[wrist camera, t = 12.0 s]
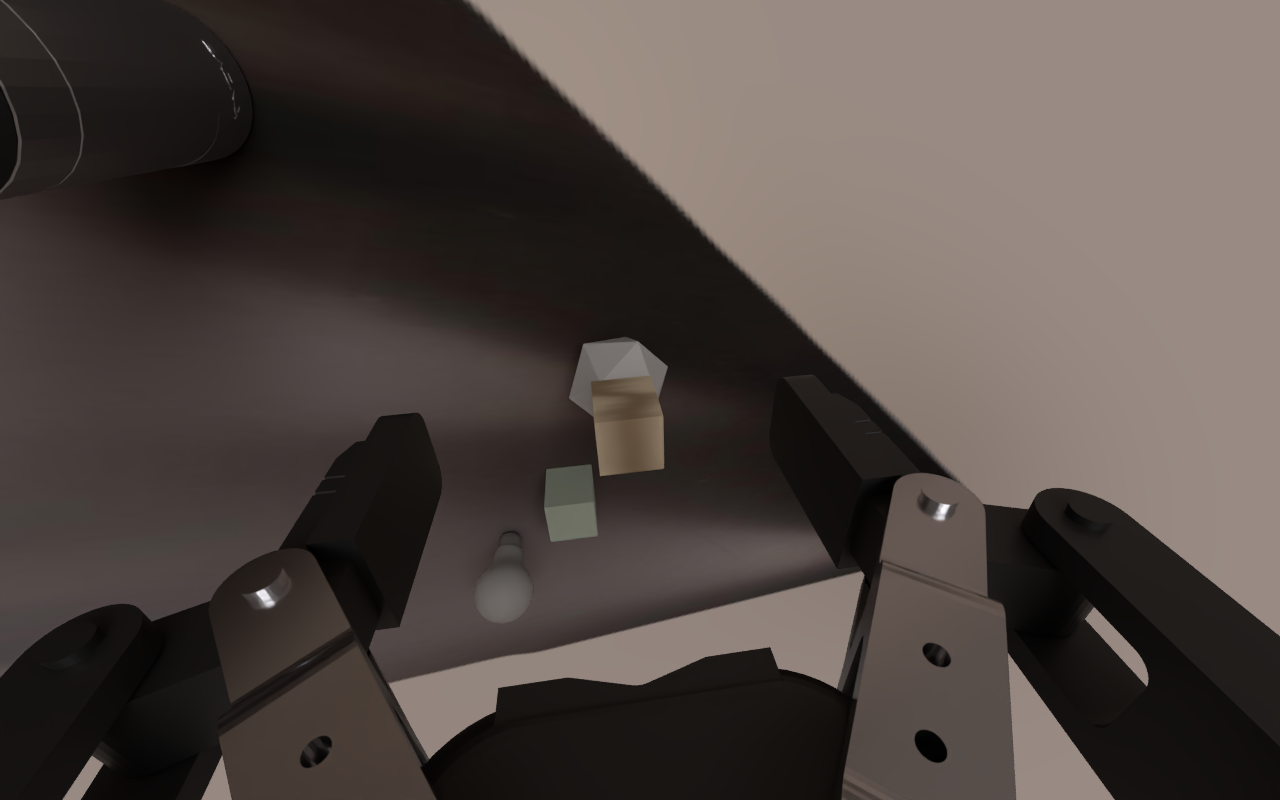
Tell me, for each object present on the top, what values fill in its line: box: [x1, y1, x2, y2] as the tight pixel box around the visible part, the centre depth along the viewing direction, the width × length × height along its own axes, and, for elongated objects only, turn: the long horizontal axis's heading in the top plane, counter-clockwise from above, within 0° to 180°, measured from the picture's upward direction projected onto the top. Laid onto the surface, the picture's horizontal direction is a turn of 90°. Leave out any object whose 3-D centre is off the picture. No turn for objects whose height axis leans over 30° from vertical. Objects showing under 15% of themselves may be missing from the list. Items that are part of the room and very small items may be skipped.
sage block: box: [544, 464, 598, 542], centre depth 53 cm, size 5×5×6 cm
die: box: [569, 337, 668, 417], centre depth 44 cm, size 8×9×10 cm
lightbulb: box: [474, 532, 534, 623], centre depth 54 cm, size 6×6×11 cm
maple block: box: [591, 376, 664, 476], centre depth 39 cm, size 5×5×6 cm
